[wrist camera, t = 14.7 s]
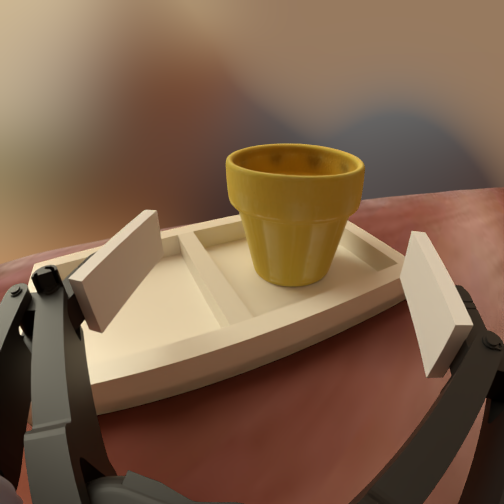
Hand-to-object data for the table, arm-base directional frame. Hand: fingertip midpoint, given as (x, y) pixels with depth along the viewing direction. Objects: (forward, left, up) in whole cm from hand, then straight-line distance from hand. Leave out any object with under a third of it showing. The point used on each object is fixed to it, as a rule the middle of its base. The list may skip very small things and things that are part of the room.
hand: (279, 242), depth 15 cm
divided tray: (+2, -8, -8) cm, 12 cm away
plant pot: (-6, -8, -8) cm, 12 cm away
